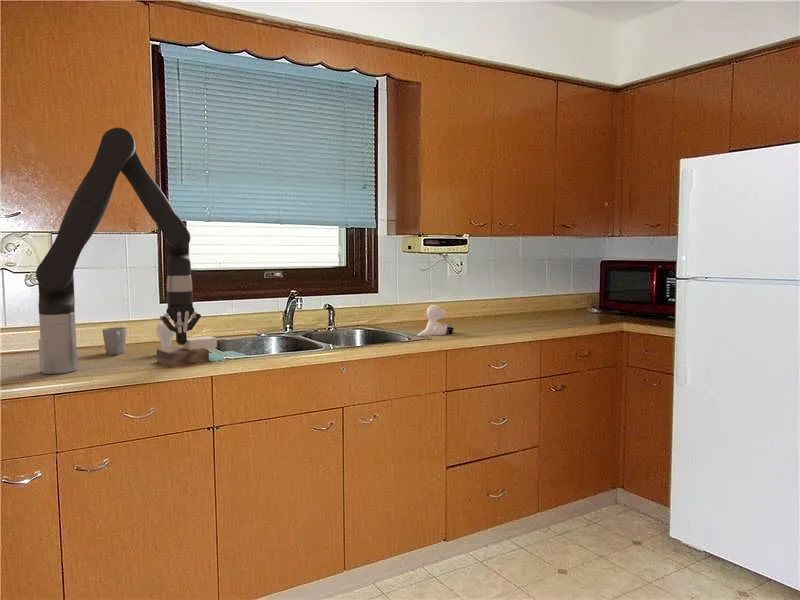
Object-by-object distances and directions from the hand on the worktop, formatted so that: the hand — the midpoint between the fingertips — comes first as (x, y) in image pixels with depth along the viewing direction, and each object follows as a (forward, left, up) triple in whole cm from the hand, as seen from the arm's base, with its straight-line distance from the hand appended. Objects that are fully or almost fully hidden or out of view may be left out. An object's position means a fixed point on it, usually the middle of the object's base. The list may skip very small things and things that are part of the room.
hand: (181, 344), depth 200 cm
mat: (+14, 0, -6) cm, 15 cm away
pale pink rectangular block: (+6, 0, -2) cm, 6 cm away
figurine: (+103, -10, -6) cm, 103 cm away
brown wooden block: (0, 0, -6) cm, 6 cm away
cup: (-11, +30, -6) cm, 33 cm away
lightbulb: (+2, +19, -6) cm, 20 cm away
